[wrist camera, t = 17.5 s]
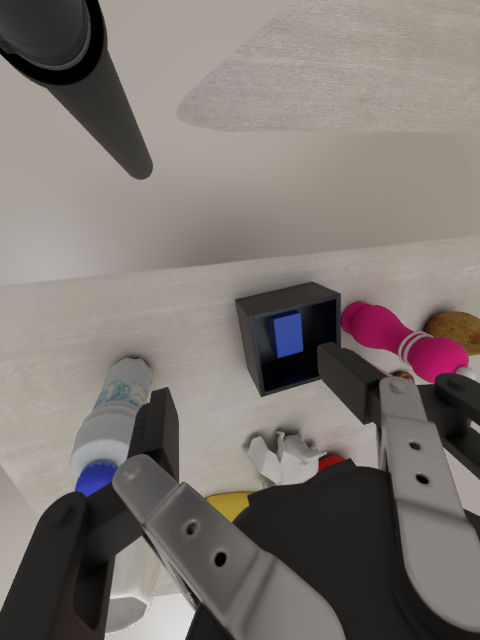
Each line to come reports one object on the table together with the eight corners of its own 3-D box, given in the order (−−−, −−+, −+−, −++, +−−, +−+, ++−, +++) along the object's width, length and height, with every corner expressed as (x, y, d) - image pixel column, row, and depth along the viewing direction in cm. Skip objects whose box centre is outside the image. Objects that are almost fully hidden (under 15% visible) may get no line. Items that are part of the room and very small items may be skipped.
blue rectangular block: (295, 343, 43) (303, 351, 41) (271, 349, 43) (278, 358, 40) (292, 306, 41) (300, 312, 38) (267, 313, 40) (273, 319, 37)
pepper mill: (335, 336, 46) (437, 409, 28) (341, 299, 43) (460, 353, 25) (368, 333, 48) (485, 401, 29) (376, 297, 45) (511, 347, 27)
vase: (142, 470, 47) (127, 573, 33) (180, 506, 52) (181, 607, 39) (75, 507, 46) (31, 628, 32) (121, 540, 52) (101, 654, 38)
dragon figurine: (235, 438, 50) (244, 487, 42) (303, 408, 49) (326, 452, 41) (259, 472, 57) (270, 519, 49) (318, 446, 57) (340, 489, 49)
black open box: (247, 369, 44) (261, 397, 37) (235, 299, 39) (247, 316, 32) (315, 350, 46) (340, 373, 39) (312, 281, 41) (340, 293, 34)
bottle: (159, 382, 41) (144, 508, 23) (117, 393, 40) (66, 534, 22) (148, 347, 38) (121, 458, 20) (103, 357, 37) (31, 484, 19)
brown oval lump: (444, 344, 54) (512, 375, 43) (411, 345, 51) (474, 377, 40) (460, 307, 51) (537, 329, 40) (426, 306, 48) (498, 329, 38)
